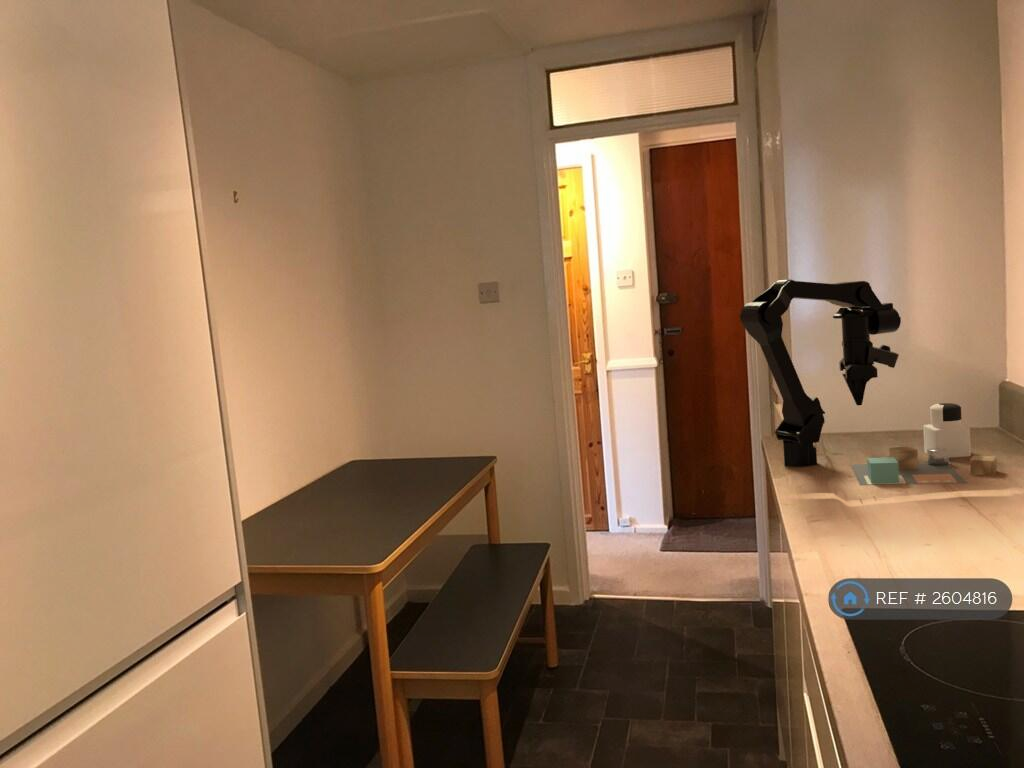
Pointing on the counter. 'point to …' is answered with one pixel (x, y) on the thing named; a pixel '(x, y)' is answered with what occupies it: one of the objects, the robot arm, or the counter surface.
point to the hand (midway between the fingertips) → (859, 405)
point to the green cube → (883, 470)
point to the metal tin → (938, 456)
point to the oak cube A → (905, 457)
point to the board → (914, 475)
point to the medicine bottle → (947, 430)
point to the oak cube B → (983, 465)
